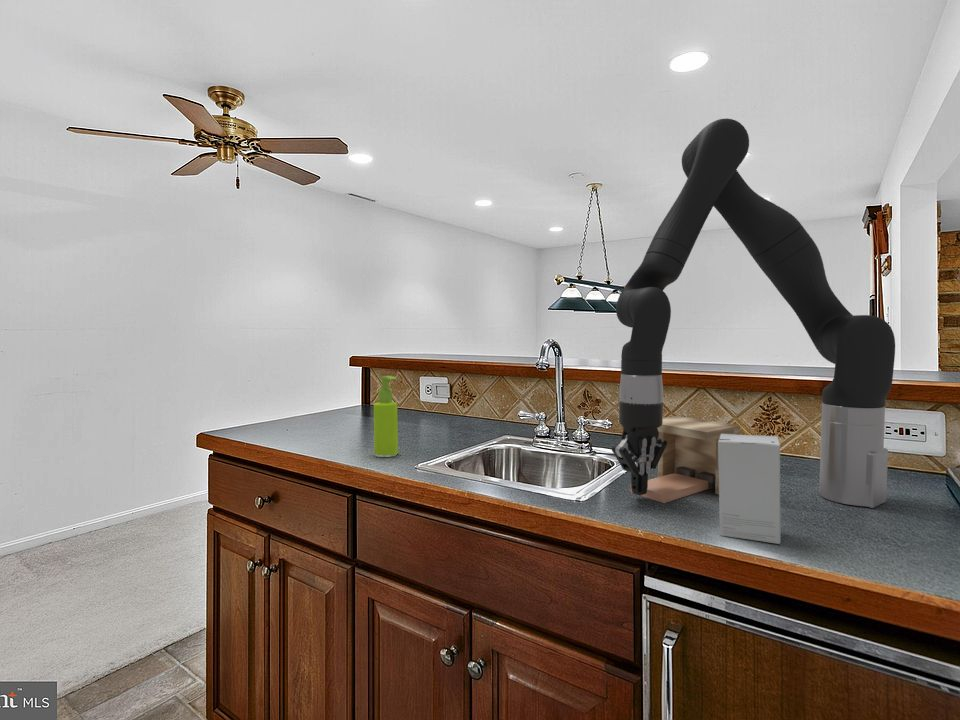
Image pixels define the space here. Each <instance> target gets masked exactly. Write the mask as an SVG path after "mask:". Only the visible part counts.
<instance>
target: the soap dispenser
mask: <svg viewBox="0 0 960 720" xmlns="http://www.w3.org/2000/svg"><path fill="white" fill-rule="evenodd" d="M378 380H381V387H380V388H378V392H377V393H378V401H377V402H375V403H373V449H374V450H373V451H374V453H375V454H377V455H395V454H397V453H398V454H399V428H398V426H399V424H398V421H399V420H398V417H399V416H398V414H399V413H398V412H399V411H398V402H396V401H393V389H392V388H391V387H389V383H390V382H391V381H397V377H395V376H393V375H382V376H378ZM389 381H390V382H389ZM374 453H373V454H374Z"/></svg>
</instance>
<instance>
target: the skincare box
mask: <svg viewBox="0 0 960 720" xmlns="http://www.w3.org/2000/svg"><path fill="white" fill-rule="evenodd" d="M718 463H719V495H718V498H719V499H718V503H719V504H718V505H719V506H718V507H719V510H718V511H719V534H720V536H721V537H728V538H736V539H742V540H750V541H757V542H762V543H763V542H764V543H771V544H778V545H780V544H781V541H782V539H781V538H782V536H781V535H782V533H781V443H780V439H779V436H777V435H775V436H774V435H754V434H753V435H752V434H751V435H749V434H740V435H735V434H721V435H720V438H719V441H718Z"/></svg>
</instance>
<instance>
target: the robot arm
mask: <svg viewBox="0 0 960 720" xmlns="http://www.w3.org/2000/svg"><path fill="white" fill-rule="evenodd" d="M749 149H750V137H749V134H748V131H747V129H746V128H745V126H744V125H743V124H742V123H741V122H740V121H738V120H736V119H733V118H719V119H716V120H714V121H712V122H710V123H708V124H707V125H706V126H705V127H704V128H702V129H701V131H699V132H698V133H697V135H696V136H695V137H694V138H693V139H692V140H691V141H690V142H689V144H688V145H687V146H686V147H685V149H684V151H683V153H682V157H681V167H682V171H683V172H684V173H683V174H685V177H686V181H685V183H684V185H683V187H682V188H681V191H680V193H679V194H678V196H677V198H676V199H675V201H674V202H673V204H672V205H671V207H670V209H669V211H667V214H666V215H665V217H664V218H663V220H662V222H661V223H660V225H659V226H658V228H657V230H656V232H655V234H654V236H653V238H652V240H651V242H650V244H649V246H648V248H647V250H646V253H645V255H644V257H643V260H642V262H641V264H640V265H639V267H638V268H637V269H636V270H635V271H634V272H633V274H632V275H631V277H630V278H629V280H628V281H627V283H626V284H625V286H624V287H623V289H622V290H621V292H620V294H619V295H618V298H617V302H616V306H615V313H616V317H617V319H618V321H619V322H620V323H621V324H622V325H624V326H625V327H628V328H631V334H630V335H631V336H630V340H629V341H628V342H626V343H624V344H623V346H622V349H621V355H620V357H621V358H620V359H621V360H620V361H621V362H620V364H621V365H620V369H621V370H620V371H621V372H620V373H621V374H620V381H619V382H620V383H619V398H618V401H619V405H618V407H619V409H618V423H619V425H621V426H622V429H623V430H622V432H621V435H620V436H621V437H620V438H621V441H620V443H619V444H618V445H612V446H611V447H612V448H611V451H612V453H613V455H614V456H615V458H616V460H617V462H618V463H619V465H620V466H621V468H622V470H623V471H625V472H628V473H630V475H631V476H630V479H631V480H630V485H631V489H632V492H633V493H632V494H634V495H637V496H640V495H643V494H646V493H647V488H648V480H649V477H648V476H649V474H650V473H651V471H652V470H655V469H657V468H658V462H659V460H660V458H661V456H662V454H663V452H664V450H665V447H666V445H667V441H666V440H662V439H661V438H660V437H659V431H658V427H660V426H661V425H662V423H663V418H664V415H663V413H664V411H663V410H664V407H663V406H664V384H663V383H664V382H663V371H662V370H663V349H664V346H665V343H666V339H667V335H668V332H669V326H670V323H671V317H672V307H671V303H670V299H669V297H668V295H667V293H665V291H664V290H665V289H666V287H667V286H670V285H672V284H673V283H674V282H676V281H677V280H678V279H679V277H680V276H681V274H682V272H683V269H684V267H685V265H686V264H687V261H688V259H689V256H690V255H691V252H692V250H693V248H694V246H695V244H696V242H697V239H698V237H699V235H700V233H701V232H702V229H703V227H704V226H705V222H706V221H707V219H708V217H709V215H710V213H711V211H712V209H713V208H715V210H716V211H717V212H718V214H720V215H721V216H722V218H723V219H724V221H725V222H726V223H727V225H728V226H729V228H730V229H731V230H732V232H734V234H735V236H736V237H737V238H738V239H739V240H740V241H741V243H742V244H743V245H744V247H745V249H746V250H747V251H748V253H749V254H750V256H751V257H752V258H753V260H754V261H755V263H756V264H757V265H758V267H759V268H760V270H761V271H762V272H763V273H764V275H765V276H766V277H767V278H768V279H769V280H770V282H771V284H773V286H774V287H775V289H776V290H777V292H779V294H780V296H782V298H783V299H784V300H785V302H787V304H788V305H789V306H790V308H791V309H792V310H793V312H794V313H795V315H796V316H797V318H798V320H800V323H801V325H802V326H803V328H804V329H805V331H806V333H807V335H808V337H809V338H810V340H811V342H812V343H813V346H814V347H815V349H816V350H817V351H818V353H819V354H820V355H821V357H822V358H823V359H825V360H826V361H828V363H829V362H830V363H832V364H834V374H833V378H832V381H831V382H830V383H829V384H828V385H826V386H825V387H824V388H823V389H822V394H821V421H820V424H821V425H820V427H821V428H820V456H819V458H820V459H819V482H818V483H819V484H818V485H819V488H818V490H819V493H818V494H819V496H820V497H823V498H824V499H825V500H828V501H832V502H836V503H840V504H844V505H850V506H858V507H866V508H871V509H874V508H876V507H878V506H880V505H882V504H884V503H886V502H887V490H888V489H887V486H888V465H889V464H888V462H889V461H888V460H889V459H888V457H889V450H888V449H887V448H884V444H885V424H886V423H885V420H886V419H885V418H886V417H885V416H886V400H887V397H888V395H889V393H890V391H891V389H892V386H893V385H892V384H893V377H894V368H895V357H896V340H895V339H896V338H895V334H894V331H893V329H892V327H891V326H890V324H889V323H888V322H887V321H886V320H885V319H883V318H881V317H879V316H874V315H869V314H863V315H862V314H861V315H860V314H859V315H858V314H857V315H853V314H852V313H851V312H850V311H849V310H848V309H847V308H846V307H845V305H844V304H843V302H841V301H840V299H839V298H838V297H837V295H835V293H834V292H833V290H832V288H831V286H830V284H829V281H828V279H827V278H828V277H827V275H826V271H825V267H824V262H823V258H822V256H821V255H822V254H821V252H820V250H819V247H818V246H817V244H816V243H815V241H814V239H813V238H812V237H811V235H810V234H809V233H808V232H807V230H806V229H805V227H804V226H803V225H802V223H801V222H800V221H799V219H797V217H796V216H794V214H792V213H791V212H789V211H787V210H786V209H785V208H783V207H781V206H779V205H777V204H776V203H774V202H771V201H770V200H768V199H766V198H764V197H762V196H761V195H759V194H758V193H757V192H755V191H754V190H753V189H752V188H751V187H750V186H749V184H748V183H747V182H746V181H745V180H744V178H743V177H742V176H741V174H740V173H739V170H737V169H738V168H739V167H740V165H741V164H742V163H743V161H744V160H745V158H746V157H747V155H748V152H749Z"/></svg>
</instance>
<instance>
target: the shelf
mask: <svg viewBox="0 0 960 720" xmlns="http://www.w3.org/2000/svg"><path fill="white" fill-rule="evenodd" d="M658 431H659V437H660V438H661V439H662V440H666V441H667V445H666V447H665V450H664V452H663V454H662V456H661V458H660V460H659V462H658V465H657V477H661V476H665V475H669V474H672V473H677V474H681V475H685V476H689V477H693V478H697V479H701V480H705V481H709V489H708V490H715V492H714V493H715V495H718V496H719V463H718V441H719V438H720V435H721V434H735V435H741V425H738V424H733V423H726V422H719V421H712V420H706V419H699V418H692V417H685V416H679V415H673V416H666V417H663V423H662V425H661V426H660V427H658Z"/></svg>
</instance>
